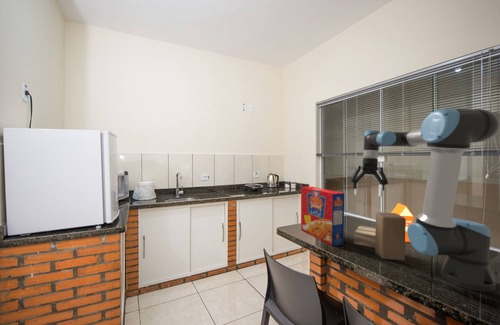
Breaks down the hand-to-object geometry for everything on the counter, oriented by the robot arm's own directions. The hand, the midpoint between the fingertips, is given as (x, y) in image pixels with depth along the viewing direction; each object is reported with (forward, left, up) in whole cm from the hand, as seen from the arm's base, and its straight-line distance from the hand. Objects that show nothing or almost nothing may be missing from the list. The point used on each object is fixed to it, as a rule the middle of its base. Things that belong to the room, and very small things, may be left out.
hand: (368, 195), depth 128 cm
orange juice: (+15, -16, -26) cm, 34 cm away
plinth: (-1, -2, -26) cm, 26 cm away
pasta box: (-10, +23, -26) cm, 36 cm away
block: (-16, -12, -26) cm, 33 cm away
